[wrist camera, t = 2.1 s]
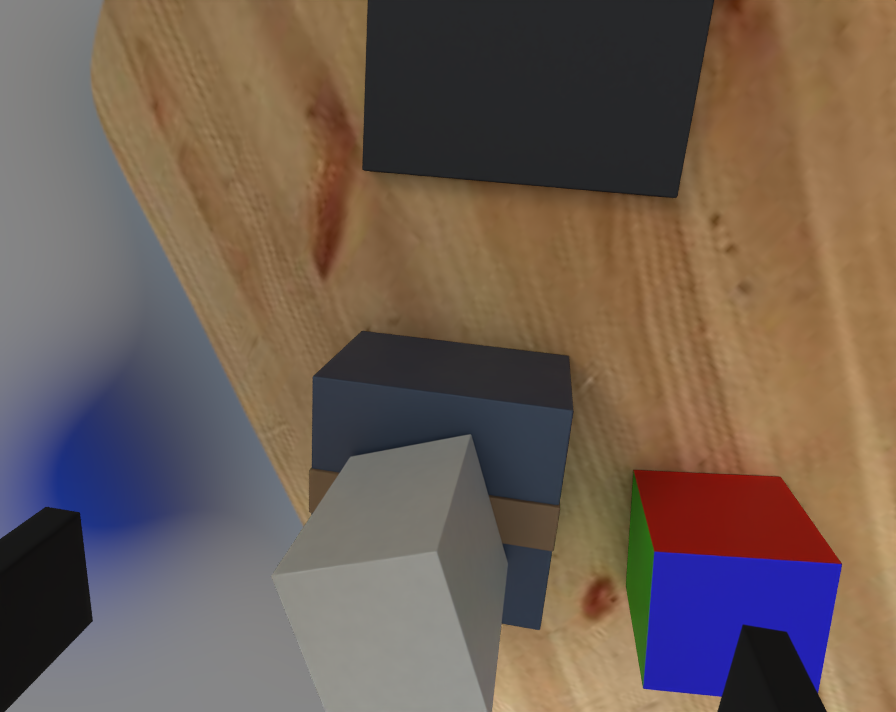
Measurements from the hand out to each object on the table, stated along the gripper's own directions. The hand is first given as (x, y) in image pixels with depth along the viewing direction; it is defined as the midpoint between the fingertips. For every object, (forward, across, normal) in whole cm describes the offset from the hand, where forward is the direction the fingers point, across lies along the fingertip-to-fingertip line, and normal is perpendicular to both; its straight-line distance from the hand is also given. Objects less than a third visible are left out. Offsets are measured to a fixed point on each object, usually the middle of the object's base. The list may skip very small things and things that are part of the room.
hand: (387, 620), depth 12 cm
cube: (+24, +14, -12) cm, 30 cm away
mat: (+24, 0, +13) cm, 28 cm away
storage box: (+24, -1, -8) cm, 25 cm away
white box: (+16, -1, -8) cm, 18 cm away
